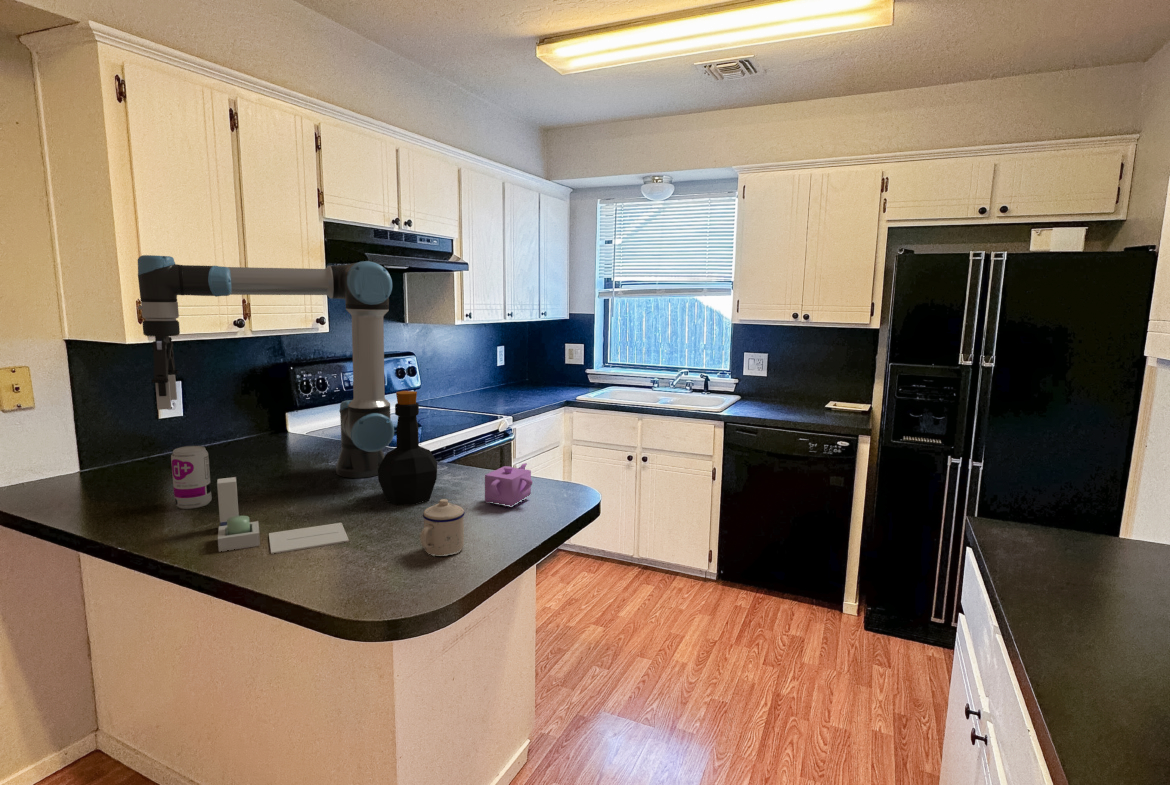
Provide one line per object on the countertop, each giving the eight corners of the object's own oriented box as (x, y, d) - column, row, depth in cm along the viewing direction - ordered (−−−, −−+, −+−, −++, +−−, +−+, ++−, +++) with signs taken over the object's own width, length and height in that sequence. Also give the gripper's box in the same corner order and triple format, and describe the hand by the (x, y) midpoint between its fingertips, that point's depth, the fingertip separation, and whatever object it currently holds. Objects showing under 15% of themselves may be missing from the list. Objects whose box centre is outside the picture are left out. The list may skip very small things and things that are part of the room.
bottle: (446, 502, 171) (445, 394, 166) (385, 511, 163) (382, 398, 158) (429, 486, 185) (427, 386, 180) (372, 494, 176) (368, 389, 171)
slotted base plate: (341, 524, 154) (341, 522, 154) (348, 541, 143) (348, 539, 143) (268, 534, 146) (268, 533, 146) (271, 554, 136) (271, 552, 136)
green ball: (250, 530, 144) (249, 514, 144) (250, 536, 140) (249, 520, 140) (228, 533, 142) (227, 517, 141) (227, 540, 138) (226, 523, 138)
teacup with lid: (441, 538, 146) (440, 491, 145) (472, 546, 143) (472, 497, 141) (405, 557, 136) (404, 506, 134) (438, 566, 132) (438, 514, 130)
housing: (259, 533, 147) (258, 521, 146) (260, 545, 140) (259, 532, 139) (219, 538, 143) (218, 526, 143) (218, 551, 136) (217, 538, 136)
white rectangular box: (239, 524, 152) (236, 477, 150) (239, 530, 148) (235, 481, 146) (221, 527, 150) (217, 479, 148) (220, 532, 147) (217, 483, 145)
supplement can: (194, 511, 160) (190, 454, 157) (167, 508, 161) (162, 451, 159) (219, 500, 168) (215, 446, 165) (192, 498, 169) (188, 444, 167)
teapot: (507, 489, 184) (507, 456, 182) (548, 496, 178) (549, 462, 176) (471, 507, 168) (471, 471, 166) (515, 516, 162) (516, 479, 160)
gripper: (149, 316, 163) (156, 397, 166) (133, 322, 141) (142, 414, 144) (183, 316, 166) (189, 395, 170) (173, 322, 145) (180, 412, 148)
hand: (167, 404), depth 157 cm, fingers open, 13 cm apart
